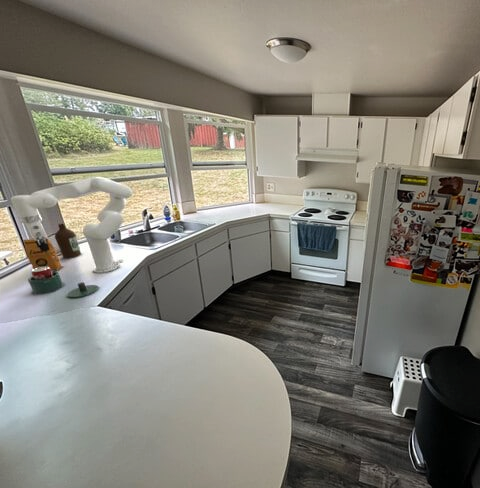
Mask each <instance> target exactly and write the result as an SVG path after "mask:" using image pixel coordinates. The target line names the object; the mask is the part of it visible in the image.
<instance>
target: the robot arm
mask: <svg viewBox="0 0 480 488" xmlns="http://www.w3.org/2000/svg"><path fill="white" fill-rule="evenodd" d="M98 192H103V193H106V194H109V201H108V203H107V204H106V205H105V206H104V207H103V208H102V210H100V211H99V213H98V214H97V216H96V219H97V220H98V222H99V223H97V222H90V223H87V224H85V225H84V226H83V228H82V233H83V235H84V237H85V240H86V242H87V243H88V246H89V250H90V253H91V256H92V259H93V263H94V265H95V268H94V269H93V272H94V273H97V274H101V273H108V272H112V271H114V270H117V269H118V268H119V264H122V263H124V260H123V259H116V260H115V259H114V257H113V253H112V251H111V247H110V243H109V239H110V238H111V237H113V235H114V234H115V233H116V232H117V231H118V229H119V228H120V227H121V225H122V224H123V223H124V216H123V214H122V212H123V211H124V209H125V208H126V205H127V200H126V199H129V198H130V197H132V196H133V190H132V189H131V187H130V186H128V185H125V184H123V183H120V182H117V181H115V180H112V179H110V178H106V177H100V176H92V177H89V178H88V177H87V178H85V179H84V178H83V179H81V180H78V181H74V182H71V183H70V182H69V183H65V184H62V185H57V186H52V187H47V188H44V189H41V190H37V191H34V192H32V193H31V194H21V195H14V196H12V197H11V198H10V201H11V203H12V205H13V207H14V210H15V212H16V215H17V216H18V218H19V221H20V223H21V224H25V226H26V228H27V230H28V232H29V234H30V236H31V237H32V239H34V240H36V241H35V242H36V244H37V247H40V250H41V251H42V252H43V251H47V250H50V249H49V246H48V244H47V243H46V241H45V239H44V238H46V239H49V238H48V237H49V236H48V235H47V233H46V231H45V228H44V225H43V224H42V221H43V218H42V216H41V212H40V210H39V209H45V208H53V207H54V206H56V205H57V204H58V201H61V200H66V199H78V198H83V197H85V196H88V195H91V194H95V193H98Z"/></svg>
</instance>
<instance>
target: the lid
mask: <svg viewBox="0 0 480 488" xmlns="http://www.w3.org/2000/svg"><path fill="white" fill-rule="evenodd" d="M98 290H99V285H97V284H89V285H86V284H85V282H83V281H82V282H79V283H77V287H76V288H74V289H72V290H70V291H69V292H68V293H67V296H68V298H80V297H85V296H89V295H91V294H93V293H95V292H97V291H98Z"/></svg>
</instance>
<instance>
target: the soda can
mask: <svg viewBox="0 0 480 488" xmlns="http://www.w3.org/2000/svg"><path fill="white" fill-rule="evenodd" d="M52 272H53V271H51V268H50V267H48V266H45V267H39V268H36V269H33V268H32V269H31V271H30V273H31V275H32V276H33V278H34V280H35V281H37V280H43V279H47V278H50V277H53V273H52Z"/></svg>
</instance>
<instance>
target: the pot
mask: <svg viewBox="0 0 480 488" xmlns="http://www.w3.org/2000/svg"><path fill="white" fill-rule="evenodd" d="M52 273H53V277H50V278H47V279H43V280H37V281H35V280H34V278H33V275H32V276H30V277H28V279H27V281H28V283H29V286H30V288H31V290H32V292H33V294H35V295H43V294H49V293H52V292H55V291H58V290H59V289H61V288H62V287H63V286H64V283H63V281H62V278H61V275H60V274H59V273H60V272H58V271H52Z"/></svg>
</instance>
